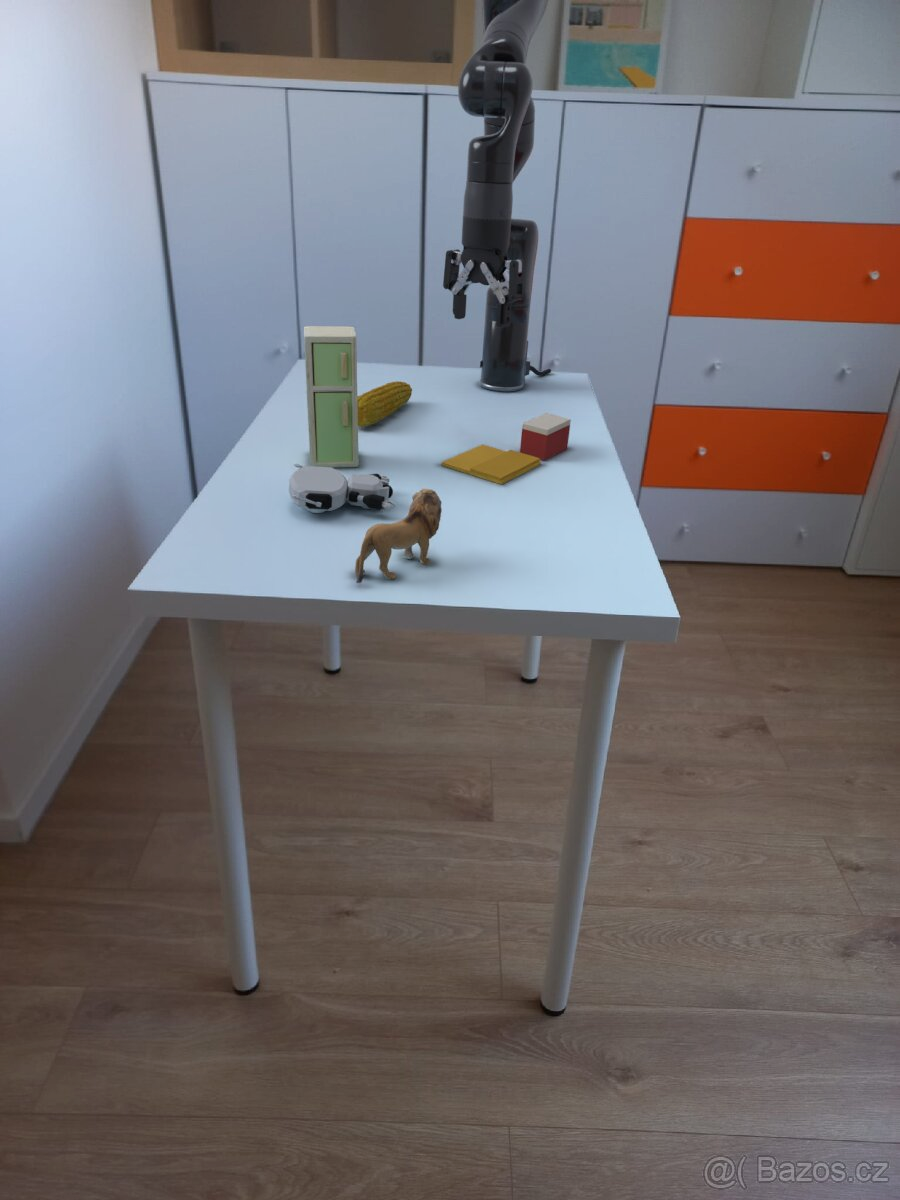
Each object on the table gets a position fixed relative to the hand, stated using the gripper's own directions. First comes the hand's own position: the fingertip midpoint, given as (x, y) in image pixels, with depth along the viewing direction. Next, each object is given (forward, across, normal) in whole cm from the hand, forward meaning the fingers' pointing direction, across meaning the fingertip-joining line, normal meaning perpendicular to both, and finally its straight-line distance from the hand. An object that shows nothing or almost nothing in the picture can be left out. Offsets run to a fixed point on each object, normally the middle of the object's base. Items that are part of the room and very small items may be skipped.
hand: (480, 322), depth 136 cm
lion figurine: (+21, -20, +43) cm, 52 cm away
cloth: (+21, -8, +6) cm, 23 cm away
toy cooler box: (+21, -11, -6) cm, 24 cm away
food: (+21, +22, -1) cm, 31 cm away
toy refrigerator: (+21, +12, +23) cm, 33 cm away
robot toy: (+21, -2, +35) cm, 41 cm away
